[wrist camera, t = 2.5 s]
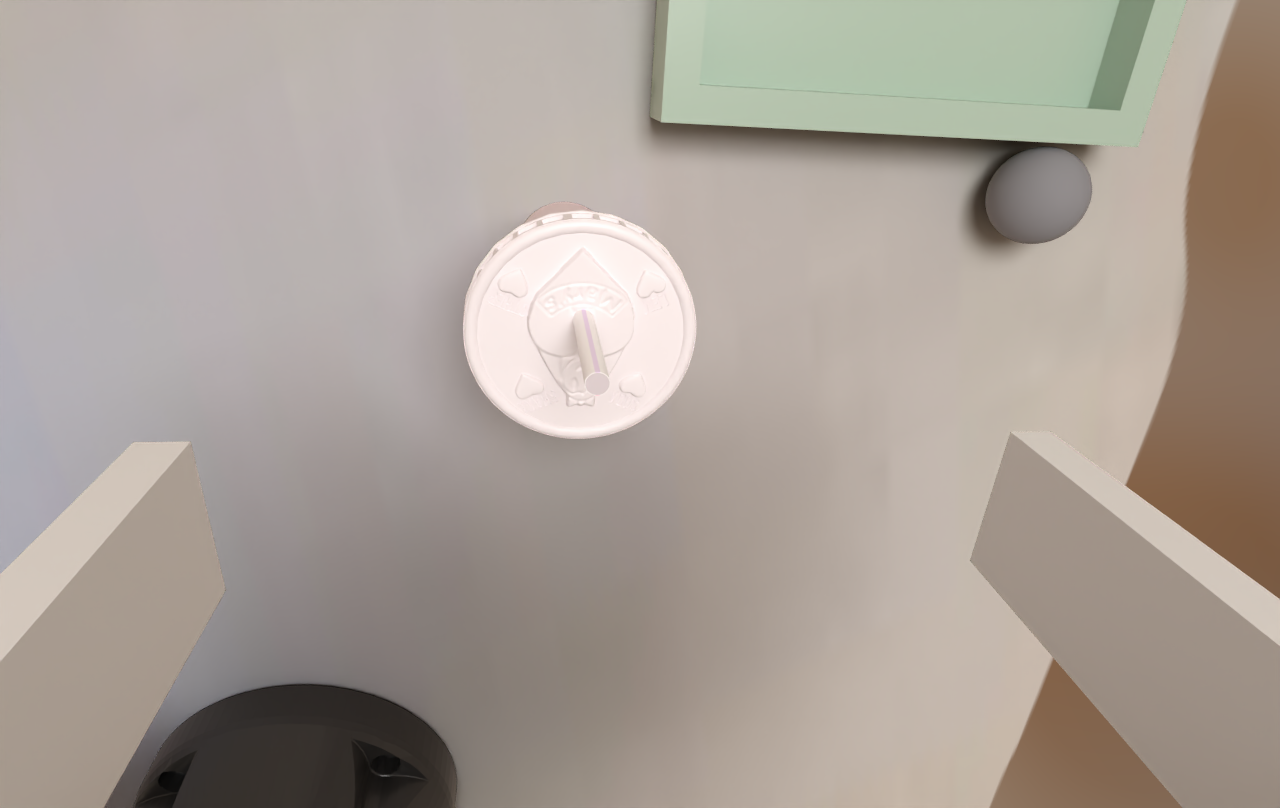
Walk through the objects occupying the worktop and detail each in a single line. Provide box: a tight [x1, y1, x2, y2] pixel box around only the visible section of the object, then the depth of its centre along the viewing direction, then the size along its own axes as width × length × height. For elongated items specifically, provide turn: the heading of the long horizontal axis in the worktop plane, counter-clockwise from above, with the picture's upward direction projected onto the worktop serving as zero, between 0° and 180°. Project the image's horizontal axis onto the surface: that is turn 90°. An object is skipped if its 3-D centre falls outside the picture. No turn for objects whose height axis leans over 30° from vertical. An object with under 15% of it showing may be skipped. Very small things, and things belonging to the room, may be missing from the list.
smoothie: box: [463, 202, 696, 439], centre depth 22 cm, size 6×6×14 cm
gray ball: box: [985, 147, 1092, 244], centre depth 28 cm, size 4×4×4 cm
